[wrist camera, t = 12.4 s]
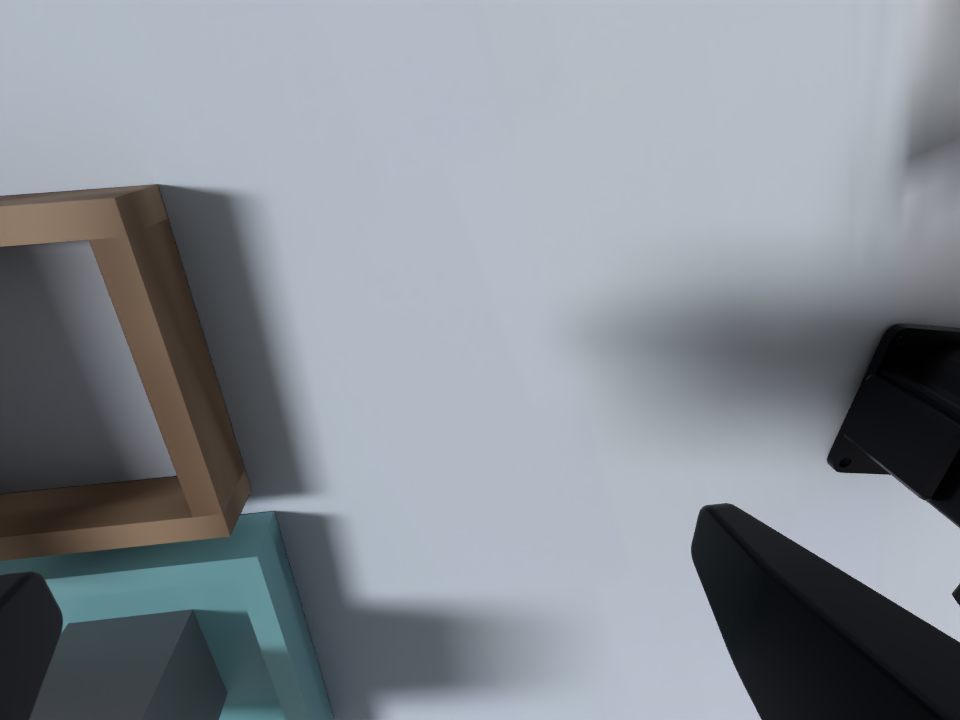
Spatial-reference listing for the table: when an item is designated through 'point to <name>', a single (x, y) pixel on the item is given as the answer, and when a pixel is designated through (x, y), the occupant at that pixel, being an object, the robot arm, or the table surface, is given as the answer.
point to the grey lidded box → (132, 671)
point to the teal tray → (208, 609)
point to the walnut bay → (164, 373)
